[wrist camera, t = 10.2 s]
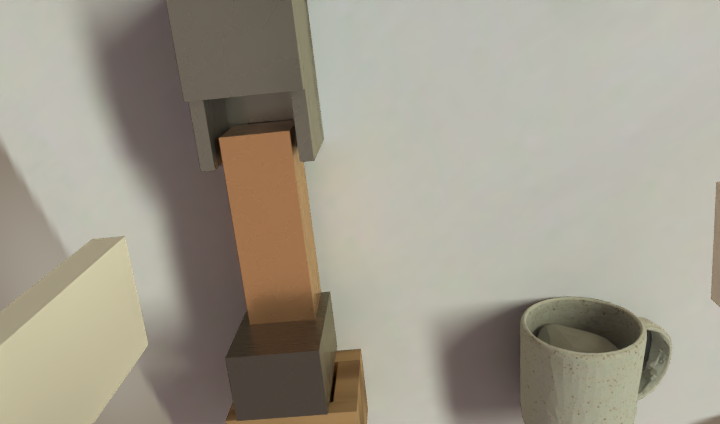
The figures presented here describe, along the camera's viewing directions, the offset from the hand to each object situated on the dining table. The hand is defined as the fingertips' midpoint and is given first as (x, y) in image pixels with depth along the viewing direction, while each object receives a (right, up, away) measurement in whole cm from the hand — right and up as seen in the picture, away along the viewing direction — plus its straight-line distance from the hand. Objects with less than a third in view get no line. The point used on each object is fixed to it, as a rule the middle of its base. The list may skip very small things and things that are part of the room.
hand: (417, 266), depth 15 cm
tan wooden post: (-6, -3, +29) cm, 30 cm away
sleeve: (-7, +10, +27) cm, 30 cm away
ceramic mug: (+14, -8, +32) cm, 36 cm away
